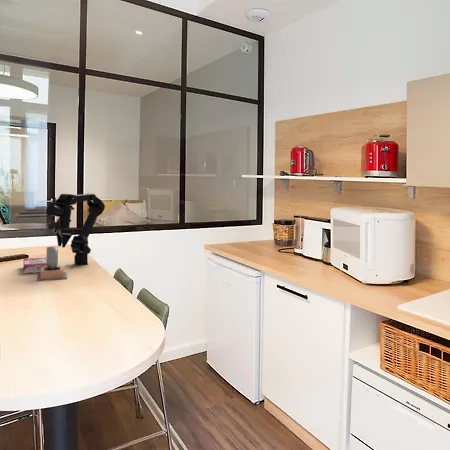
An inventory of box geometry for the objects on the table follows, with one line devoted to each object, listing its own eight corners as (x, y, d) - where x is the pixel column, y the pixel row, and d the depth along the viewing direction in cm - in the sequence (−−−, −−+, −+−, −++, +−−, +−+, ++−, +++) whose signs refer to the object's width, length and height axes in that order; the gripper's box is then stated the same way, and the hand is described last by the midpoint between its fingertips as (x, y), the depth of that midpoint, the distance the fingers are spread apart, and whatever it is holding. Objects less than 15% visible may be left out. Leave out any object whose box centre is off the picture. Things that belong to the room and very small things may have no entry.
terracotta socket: (66, 272, 202) (66, 265, 201) (66, 279, 190) (66, 271, 189) (38, 274, 197) (37, 266, 196) (36, 280, 185) (36, 272, 184)
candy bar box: (46, 256, 215) (48, 263, 201) (46, 265, 216) (48, 272, 201) (22, 257, 210) (23, 264, 195) (23, 267, 210) (23, 274, 196)
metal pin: (55, 274, 197) (55, 246, 195) (59, 276, 193) (59, 247, 192) (45, 275, 194) (45, 247, 192) (48, 277, 190) (48, 248, 188)
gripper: (44, 215, 212) (41, 244, 211) (52, 215, 197) (48, 246, 196) (66, 218, 218) (63, 246, 218) (75, 218, 203) (71, 248, 202)
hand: (61, 246), depth 208 cm, fingers open, 9 cm apart
